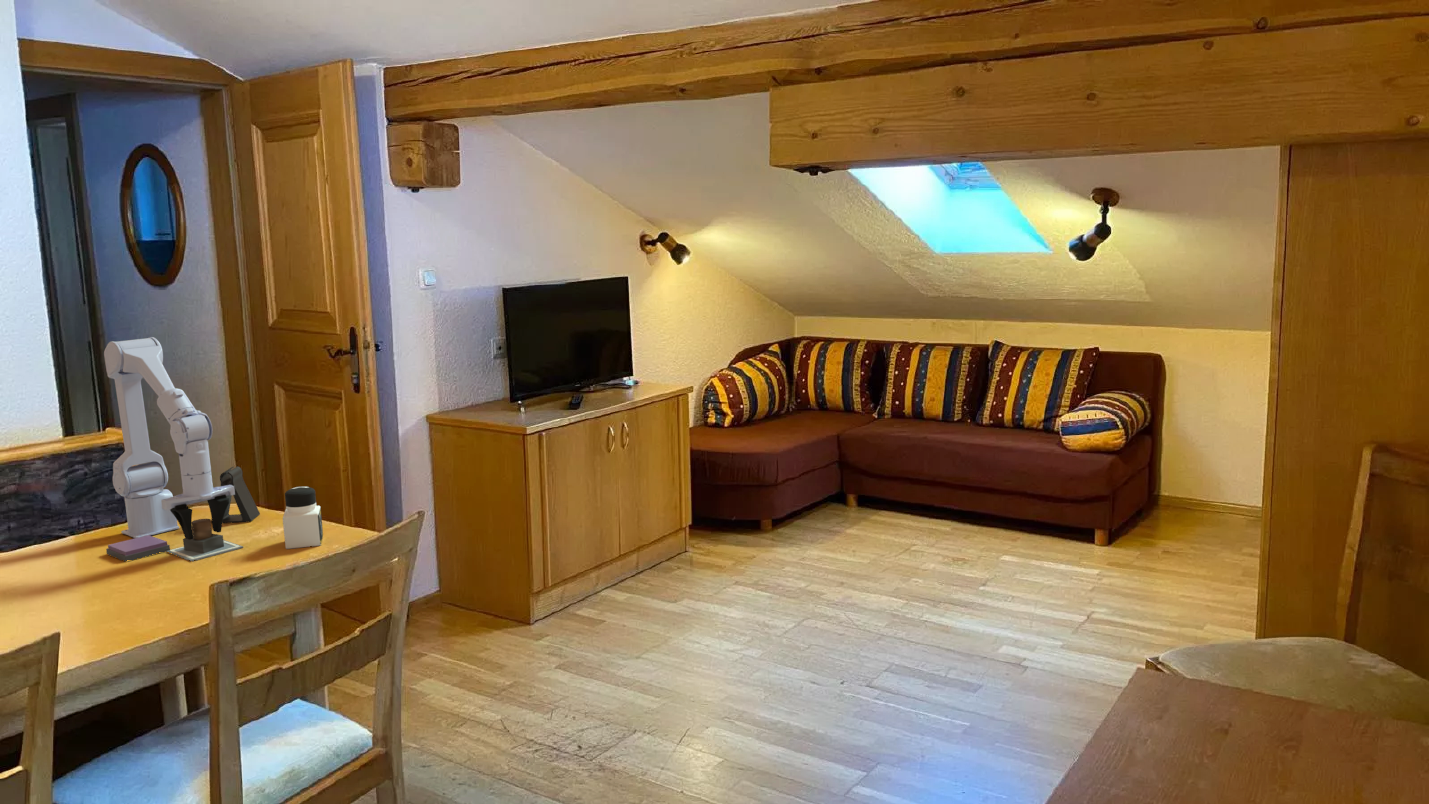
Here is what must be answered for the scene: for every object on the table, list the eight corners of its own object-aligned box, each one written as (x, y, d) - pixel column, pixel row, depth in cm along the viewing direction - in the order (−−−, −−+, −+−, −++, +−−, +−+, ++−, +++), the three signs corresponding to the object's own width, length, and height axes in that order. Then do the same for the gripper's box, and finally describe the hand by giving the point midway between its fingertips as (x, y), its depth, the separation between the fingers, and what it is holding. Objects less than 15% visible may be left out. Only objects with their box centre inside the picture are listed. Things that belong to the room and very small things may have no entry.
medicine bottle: (321, 546, 228) (316, 491, 226) (285, 549, 226) (280, 494, 224) (323, 536, 235) (318, 483, 233) (288, 540, 233) (283, 486, 231)
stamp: (204, 543, 231) (201, 516, 230) (224, 546, 228) (221, 519, 227) (184, 550, 226) (181, 522, 225) (203, 553, 224) (200, 525, 223)
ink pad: (150, 543, 233) (149, 534, 233) (170, 550, 227) (169, 541, 227) (106, 554, 226) (105, 545, 226) (125, 562, 220) (124, 552, 220)
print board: (217, 539, 235) (217, 537, 235) (243, 547, 228) (243, 546, 228) (166, 552, 226) (166, 550, 226) (191, 561, 219) (191, 559, 219)
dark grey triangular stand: (260, 514, 253) (255, 465, 251) (251, 522, 247) (245, 471, 245) (221, 516, 253) (215, 467, 251) (211, 523, 247) (205, 473, 245)
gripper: (170, 482, 216) (177, 547, 218) (239, 467, 227) (245, 529, 230) (153, 477, 220) (161, 541, 223) (222, 463, 232) (229, 524, 234)
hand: (203, 535), depth 226 cm, fingers open, 5 cm apart
